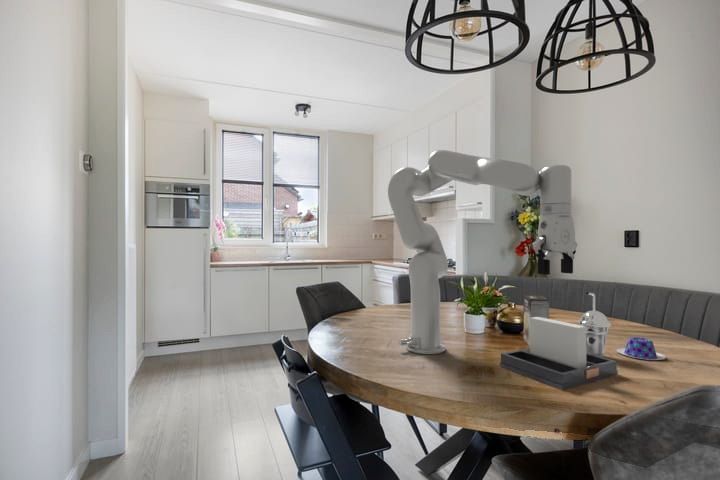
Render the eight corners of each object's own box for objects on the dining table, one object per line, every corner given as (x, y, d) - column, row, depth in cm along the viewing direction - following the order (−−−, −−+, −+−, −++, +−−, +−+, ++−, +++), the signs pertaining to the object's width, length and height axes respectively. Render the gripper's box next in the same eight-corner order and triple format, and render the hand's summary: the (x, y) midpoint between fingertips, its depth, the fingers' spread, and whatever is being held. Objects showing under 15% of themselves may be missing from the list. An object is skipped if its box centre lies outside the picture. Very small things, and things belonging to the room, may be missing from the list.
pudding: (610, 354, 113) (610, 337, 113) (625, 348, 120) (625, 332, 120) (658, 365, 104) (658, 346, 104) (671, 357, 111) (671, 340, 111)
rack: (563, 390, 85) (563, 375, 85) (499, 366, 101) (499, 353, 102) (619, 374, 95) (618, 361, 95) (552, 354, 112) (552, 343, 112)
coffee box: (522, 339, 130) (522, 294, 130) (542, 340, 128) (542, 295, 128) (529, 346, 121) (529, 298, 121) (550, 348, 119) (550, 299, 119)
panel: (577, 375, 91) (577, 328, 92) (529, 359, 104) (529, 317, 104) (586, 373, 93) (586, 326, 93) (538, 357, 106) (537, 316, 106)
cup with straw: (618, 359, 108) (618, 292, 108) (593, 361, 106) (592, 293, 106) (594, 350, 116) (594, 288, 116) (570, 352, 114) (570, 289, 114)
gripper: (547, 208, 92) (547, 276, 92) (588, 211, 100) (588, 273, 99) (522, 211, 98) (522, 273, 98) (562, 213, 106) (562, 271, 106)
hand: (555, 273), depth 99 cm, fingers open, 9 cm apart
